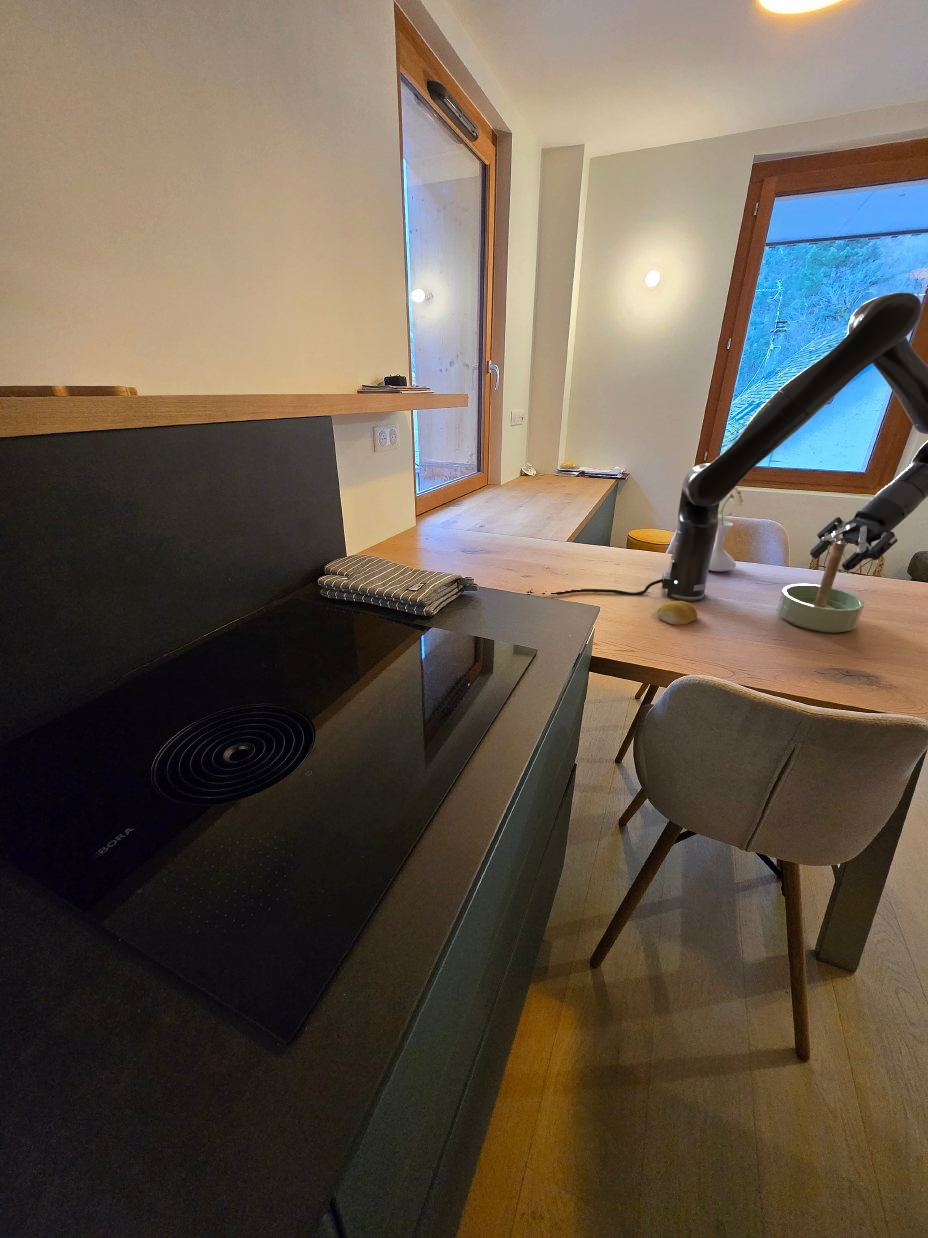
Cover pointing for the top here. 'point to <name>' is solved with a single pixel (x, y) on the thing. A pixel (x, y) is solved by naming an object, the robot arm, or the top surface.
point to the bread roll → (677, 612)
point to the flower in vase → (719, 555)
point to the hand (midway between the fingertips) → (828, 562)
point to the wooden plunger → (829, 575)
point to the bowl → (820, 609)
